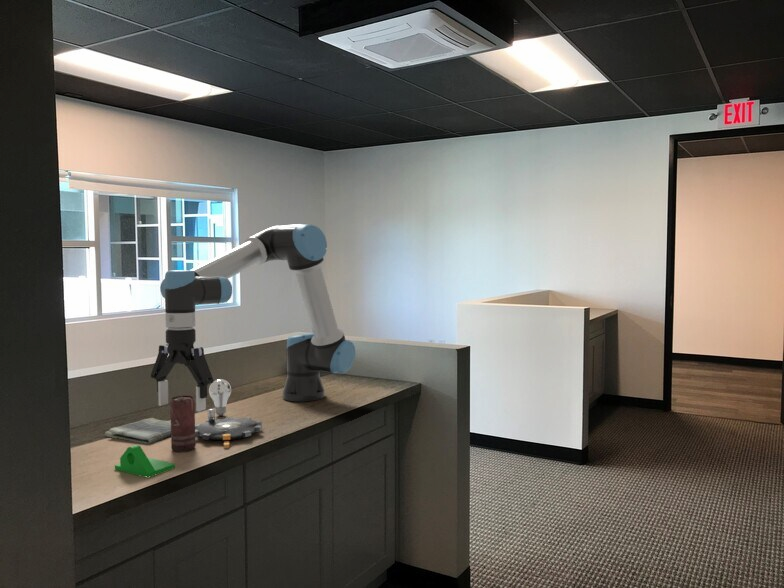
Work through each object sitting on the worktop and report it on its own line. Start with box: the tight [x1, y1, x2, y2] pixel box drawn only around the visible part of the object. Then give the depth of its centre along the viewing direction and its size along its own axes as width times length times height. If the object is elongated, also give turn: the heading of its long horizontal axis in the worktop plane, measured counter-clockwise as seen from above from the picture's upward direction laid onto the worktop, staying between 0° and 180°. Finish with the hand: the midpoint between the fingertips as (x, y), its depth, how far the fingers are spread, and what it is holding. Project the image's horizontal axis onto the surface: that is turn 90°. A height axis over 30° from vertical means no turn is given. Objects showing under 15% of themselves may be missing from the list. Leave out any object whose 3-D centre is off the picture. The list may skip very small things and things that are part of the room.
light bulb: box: [208, 378, 232, 417], centre depth 200 cm, size 7×7×12 cm
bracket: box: [114, 444, 176, 477], centre depth 151 cm, size 12×8×7 cm, turn 60°
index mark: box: [223, 440, 230, 449], centre depth 168 cm, size 3×1×1 cm, turn 13°
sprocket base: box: [210, 436, 244, 442], centre depth 180 cm, size 12×12×1 cm
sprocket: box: [195, 408, 263, 441], centre depth 179 cm, size 19×20×5 cm
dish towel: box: [104, 417, 171, 445], centre depth 182 cm, size 19×18×3 cm
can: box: [169, 395, 196, 453], centre depth 166 cm, size 6×6×14 cm
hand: (181, 407), depth 165 cm, fingers open, 13 cm apart
